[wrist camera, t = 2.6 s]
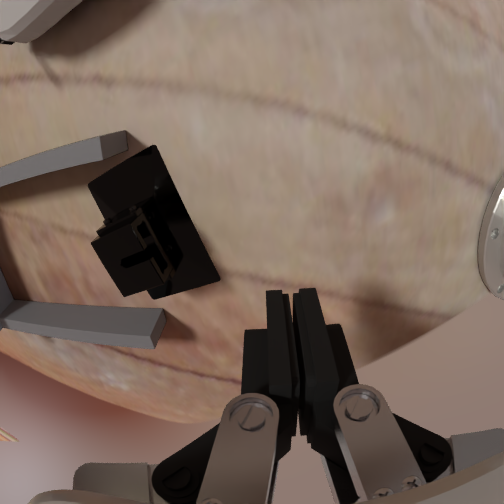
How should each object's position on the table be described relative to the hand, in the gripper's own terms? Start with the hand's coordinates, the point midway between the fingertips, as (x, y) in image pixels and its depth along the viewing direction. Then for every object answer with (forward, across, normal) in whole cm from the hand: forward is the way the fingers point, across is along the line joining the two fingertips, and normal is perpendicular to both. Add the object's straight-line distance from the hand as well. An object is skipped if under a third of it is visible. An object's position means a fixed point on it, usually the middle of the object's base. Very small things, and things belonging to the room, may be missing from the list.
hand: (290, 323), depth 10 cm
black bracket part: (+9, +8, 0) cm, 12 cm away
